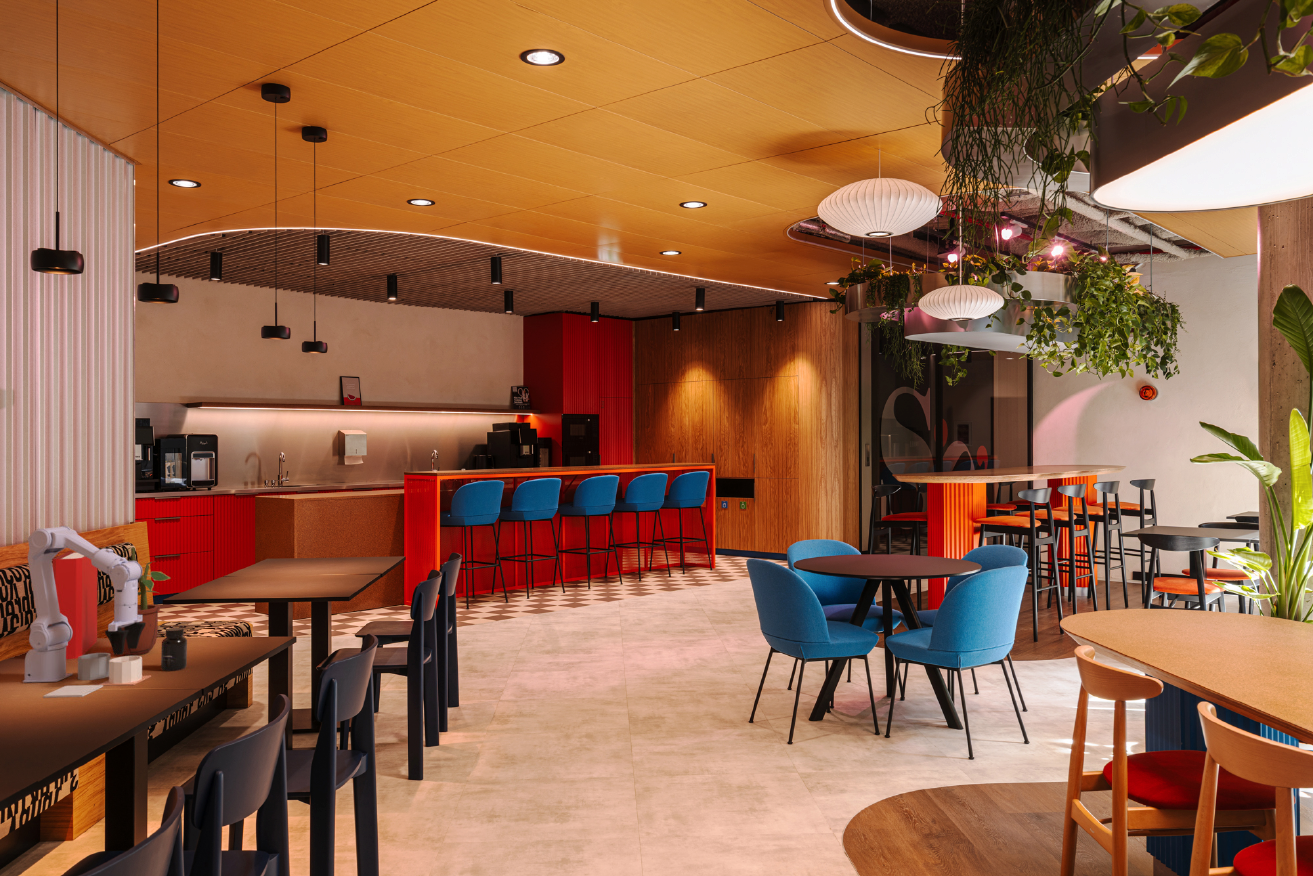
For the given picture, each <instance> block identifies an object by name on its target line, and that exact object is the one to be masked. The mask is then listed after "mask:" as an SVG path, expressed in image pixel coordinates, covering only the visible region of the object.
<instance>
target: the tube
mask: <svg viewBox="0 0 1313 876" xmlns="http://www.w3.org/2000/svg"><path fill="white" fill-rule="evenodd" d="M123 661H126V662H123ZM151 677H152V675H143V657H142V656H141V655H132V656H131V655H125V656H119V657H113V658H110V660H109V676H108V680H106V681H103V682H102V683H99V685H103V687H106V686H107V687H108V686H109V687H110V686H111V687H112V686H134V685H137V684H139V683H141V682H143V681H144V680H147V679H149V678H151Z"/></svg>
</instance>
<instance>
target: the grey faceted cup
mask: <svg viewBox="0 0 1313 876" xmlns="http://www.w3.org/2000/svg"><path fill="white" fill-rule="evenodd" d="M109 660H111V653H108V652H95V653H88V654H84V655H82V656H80V657H78V658H77V680H79V681H92V680H93V681H94V680H100V679H104V678H109Z"/></svg>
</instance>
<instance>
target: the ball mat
mask: <svg viewBox="0 0 1313 876" xmlns="http://www.w3.org/2000/svg"><path fill="white" fill-rule="evenodd" d="M103 687H104V686H103V685H100V684H91V685H89V684H88V685H64V686H62V687H60V688H58V689H56V690H53V691H51V692H49V693H47V694H44V695H43V698H49V699H50V698H83V697H85V696H86V695H88V694H91V693H93V692H95V691H97V690H99V689H101V688H103Z"/></svg>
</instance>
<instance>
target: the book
mask: <svg viewBox="0 0 1313 876" xmlns="http://www.w3.org/2000/svg"><path fill="white" fill-rule="evenodd" d="M52 567H53V573H54V579H55V586H56V592H57V598H58V604H59V610H60V613H61V614H62V615H64V616H65V617H67V619H68V623H69V625H70V626H71V628H72V631H73V635H72V638H71V640H70V641H69V642H68V645H67V646H66V660H75V659H76V660H77V659H78V657H80V656H82V655H86V653H88V651H89V650H90V649H91V648H92V647H93V646H94V645H95V644H96V643H97V642H98V568H96V567H95V566H93V565H92V563H91V559H89V558H87V557H85V556H83V555H81V554H79V553H77V552H74V551H73V550H69V551H66V552H64V553H63V554H60V555H58V556H55V557H54V558H53V559H52Z"/></svg>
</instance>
